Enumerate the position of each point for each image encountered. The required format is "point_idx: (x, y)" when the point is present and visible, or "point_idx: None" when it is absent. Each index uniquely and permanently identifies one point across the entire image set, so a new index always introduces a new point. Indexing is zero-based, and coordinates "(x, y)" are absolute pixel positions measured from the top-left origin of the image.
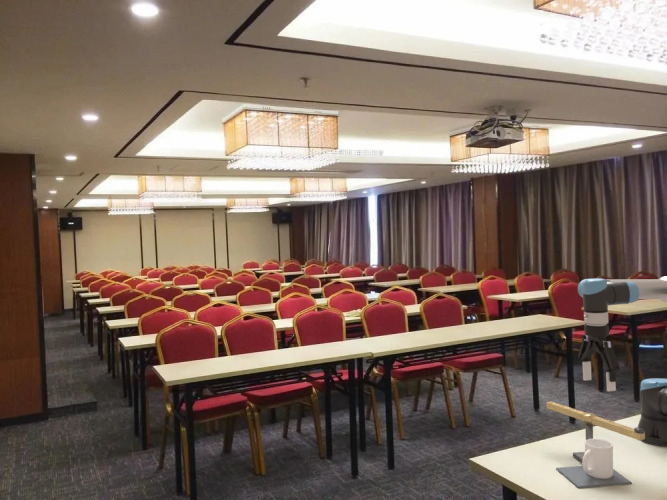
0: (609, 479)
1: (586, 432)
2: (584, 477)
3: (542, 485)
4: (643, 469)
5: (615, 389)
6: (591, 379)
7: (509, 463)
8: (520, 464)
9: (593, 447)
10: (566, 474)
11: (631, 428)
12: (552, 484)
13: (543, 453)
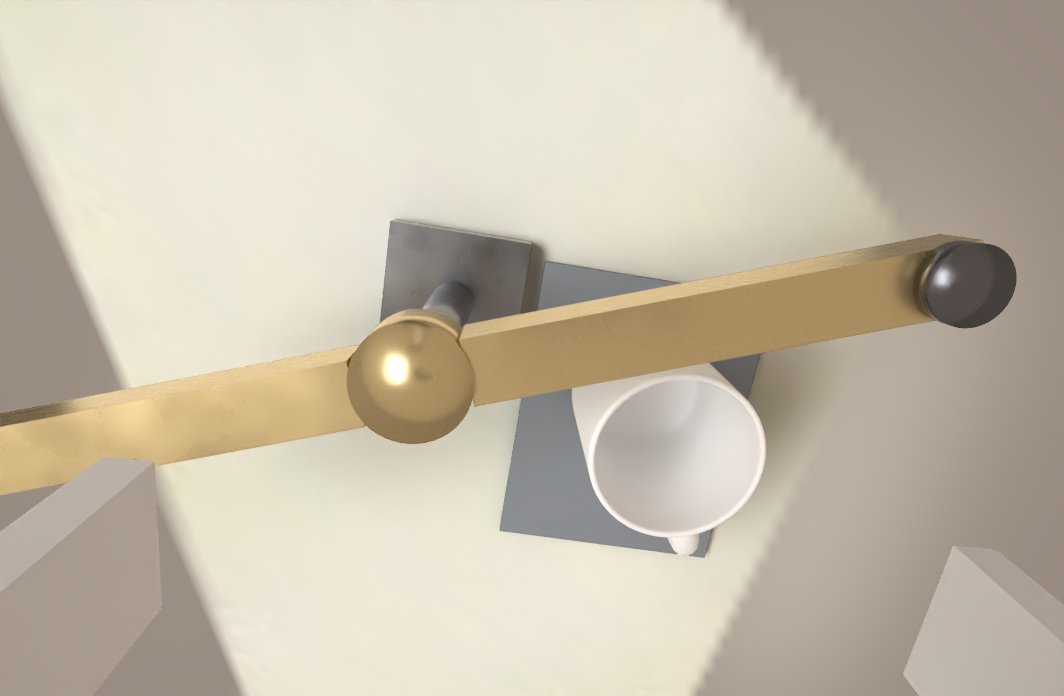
0: None
1: None
2: None
3: (620, 664)
4: (658, 88)
5: (1012, 570)
6: (150, 468)
7: (370, 674)
8: (395, 637)
9: (712, 526)
10: (581, 530)
11: (858, 279)
12: (627, 624)
13: (297, 467)
